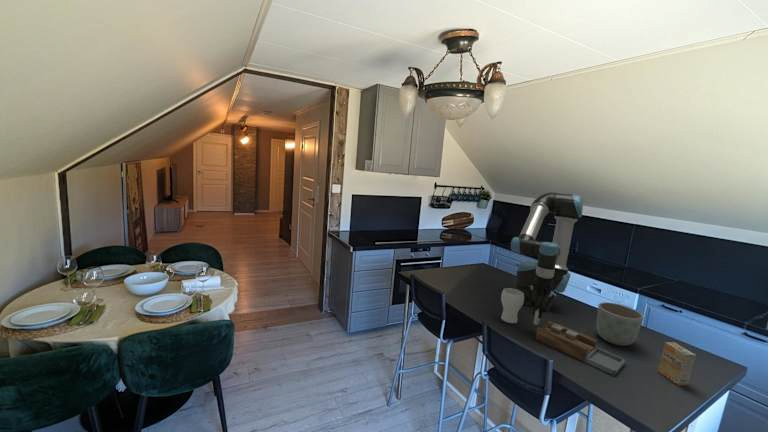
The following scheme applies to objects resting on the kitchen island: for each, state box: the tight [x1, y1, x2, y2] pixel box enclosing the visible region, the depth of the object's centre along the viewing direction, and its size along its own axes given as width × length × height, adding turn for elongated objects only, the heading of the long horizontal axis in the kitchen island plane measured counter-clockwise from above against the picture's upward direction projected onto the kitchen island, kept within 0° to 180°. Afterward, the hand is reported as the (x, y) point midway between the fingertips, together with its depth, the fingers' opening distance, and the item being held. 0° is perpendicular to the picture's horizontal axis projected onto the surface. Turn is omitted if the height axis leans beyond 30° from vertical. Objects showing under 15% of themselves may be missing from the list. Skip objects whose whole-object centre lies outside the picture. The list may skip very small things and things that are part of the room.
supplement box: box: [657, 341, 697, 386], centre depth 125 cm, size 8×5×13 cm, turn 5°
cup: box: [500, 287, 524, 324], centre depth 164 cm, size 11×11×15 cm
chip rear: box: [551, 323, 565, 336], centre depth 146 cm, size 4×4×4 cm
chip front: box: [565, 329, 580, 342], centre depth 142 cm, size 4×4×4 cm
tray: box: [583, 346, 627, 377], centre depth 133 cm, size 14×11×2 cm
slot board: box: [535, 320, 598, 363], centre depth 144 cm, size 13×20×6 cm, turn 40°
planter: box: [595, 301, 644, 347], centre depth 151 cm, size 17×17×15 cm
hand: (536, 323), depth 153 cm, fingers closed
